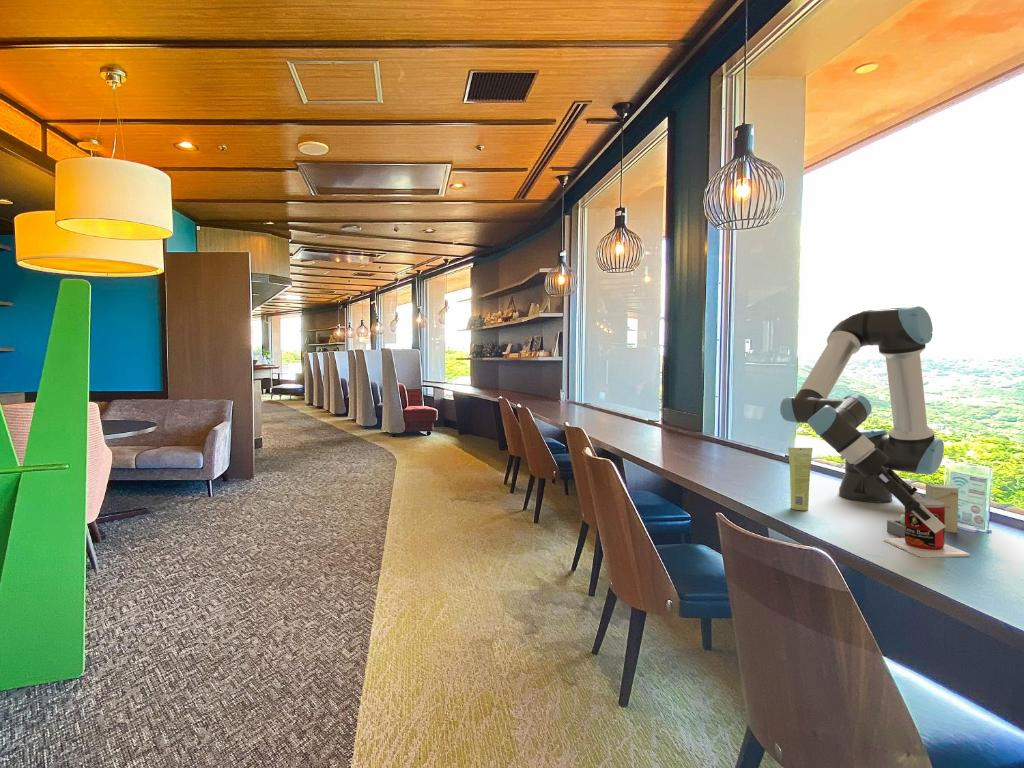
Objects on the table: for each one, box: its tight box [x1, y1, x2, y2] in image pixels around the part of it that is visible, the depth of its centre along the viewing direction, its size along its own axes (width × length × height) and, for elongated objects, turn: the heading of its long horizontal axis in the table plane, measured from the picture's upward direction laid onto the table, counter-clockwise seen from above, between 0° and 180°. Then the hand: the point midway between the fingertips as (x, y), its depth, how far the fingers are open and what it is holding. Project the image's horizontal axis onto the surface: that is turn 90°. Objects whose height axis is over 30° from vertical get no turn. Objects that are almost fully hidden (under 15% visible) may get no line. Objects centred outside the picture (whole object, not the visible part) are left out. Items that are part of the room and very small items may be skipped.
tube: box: [787, 447, 813, 511], centre depth 168 cm, size 6×5×20 cm
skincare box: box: [924, 483, 959, 533], centre depth 146 cm, size 6×4×12 cm
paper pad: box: [882, 537, 971, 558], centre depth 132 cm, size 12×12×1 cm
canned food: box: [904, 497, 945, 550], centre depth 132 cm, size 8×8×11 cm
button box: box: [886, 519, 905, 538], centre depth 142 cm, size 7×7×3 cm
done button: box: [899, 513, 905, 526], centre depth 142 cm, size 4×4×3 cm
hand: (937, 522), depth 130 cm, fingers open, 13 cm apart
